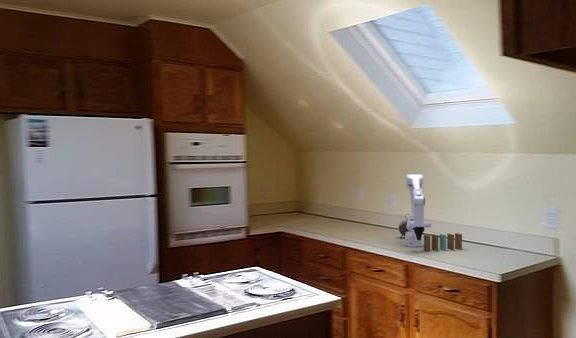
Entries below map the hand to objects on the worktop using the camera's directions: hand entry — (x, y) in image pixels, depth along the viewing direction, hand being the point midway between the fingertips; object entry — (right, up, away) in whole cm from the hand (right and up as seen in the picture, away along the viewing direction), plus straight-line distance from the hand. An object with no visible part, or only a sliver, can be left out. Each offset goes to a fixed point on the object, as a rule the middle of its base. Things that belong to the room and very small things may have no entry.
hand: (418, 240), depth 291 cm
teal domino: (+15, -6, +3) cm, 17 cm away
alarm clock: (+3, -5, +41) cm, 41 cm away
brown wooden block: (+5, -6, +1) cm, 8 cm away
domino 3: (+20, -6, +4) cm, 21 cm away
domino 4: (+25, -6, +5) cm, 26 cm away
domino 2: (+10, -6, +2) cm, 12 cm away
